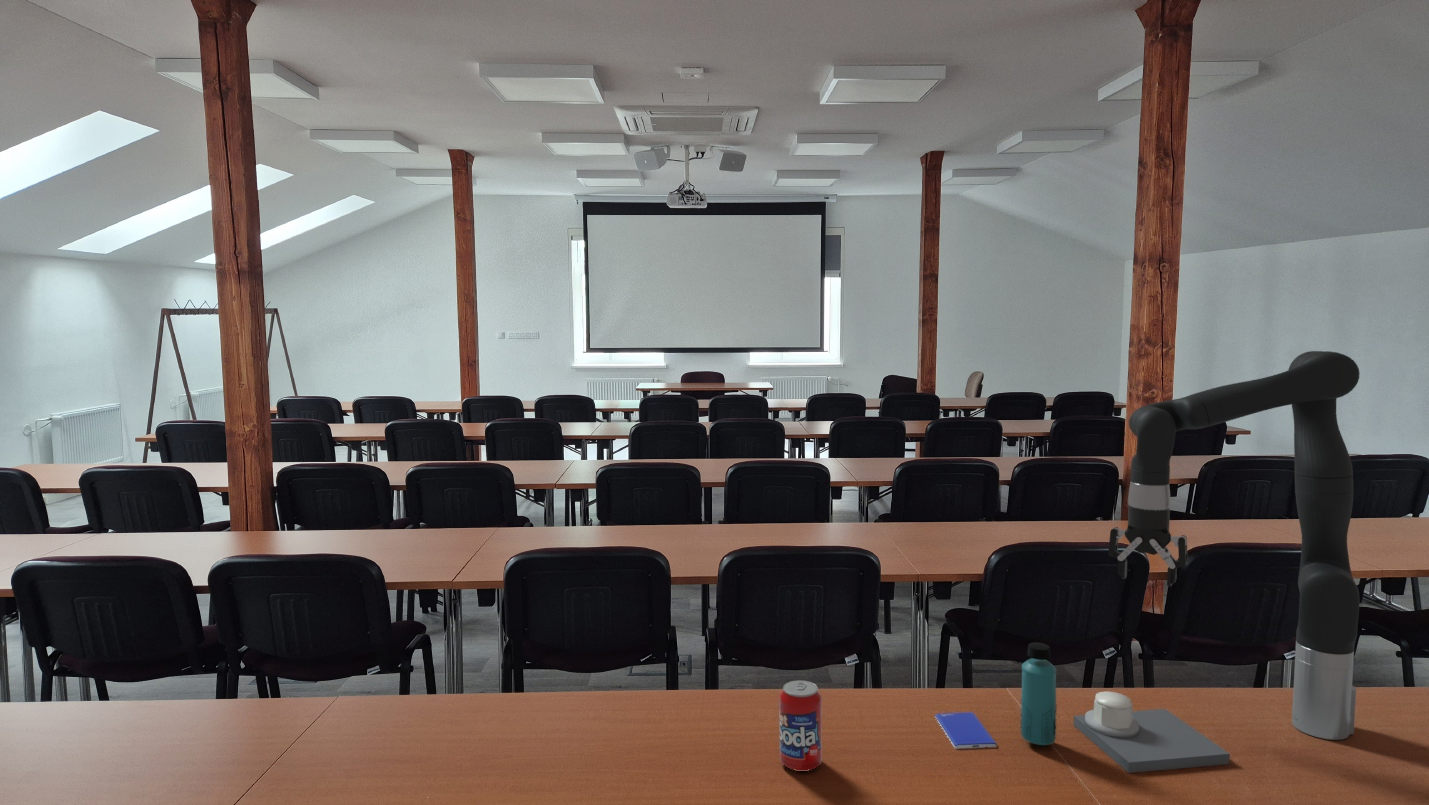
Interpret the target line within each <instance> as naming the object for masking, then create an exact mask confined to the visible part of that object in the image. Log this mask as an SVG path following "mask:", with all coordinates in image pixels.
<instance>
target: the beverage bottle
mask: <svg viewBox="0 0 1429 805" xmlns="http://www.w3.org/2000/svg"><path fill="white" fill-rule="evenodd" d="M1027 656H1028V657H1029V659H1026V661H1024V662H1023V663H1022V664H1021V693H1020V694H1021V695H1020V696H1021V697H1020V704H1021V705H1020V725H1019V726H1020V734H1021V736H1022V738H1023V739H1024V740H1025V741H1026V742H1028V743H1031V744H1032V745H1033V744H1034V745H1038V746H1047V745H1048V746H1049V745H1052V744H1053V743H1055V741H1056V739H1057V737H1056V736H1057V728H1058V727H1057V724H1058V723H1057V714H1058V713H1057V709H1058V707H1057V706H1058V705H1057V668H1056V667H1055V666H1054V665H1053V664H1052V663H1051V662H1050V661H1048V660H1050V659H1051V647H1050V646H1049V645H1048V644H1046V643H1043V642H1030V643H1029V644H1028V648H1027Z"/></svg>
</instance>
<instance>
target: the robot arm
mask: <svg viewBox="0 0 1429 805" xmlns="http://www.w3.org/2000/svg"><path fill="white" fill-rule="evenodd" d="M1359 380H1360V369H1359V366H1358V365H1357V363H1356V362H1355V361H1354V359H1352V358H1351V357H1350V356H1348V355H1346V354H1343V353H1340V352H1336V351H1327V350H1326V351H1323V350H1322V351H1321V350H1319V351H1318V350H1310V351H1306V352H1302V353H1301V354H1299V355H1297V356H1296V357H1295V358H1294V359H1293V360H1292V362H1291V363H1290V364H1289V367H1288V369H1287V370H1286V371H1283V372H1280V373H1277V374H1273V375H1269V376H1266V377H1261V378H1257V379H1250V380H1246V381H1240V382H1236V383H1235V382H1234V383H1230V384H1225V385H1221V386H1217V387H1213V388H1210V389H1205V390H1203V391H1199V392H1195V393H1192V394H1189V395H1186V396H1184V397H1181V398H1175V399H1169V400H1165V401H1159V402H1154V403H1149V404H1146V405H1143V406H1141V407H1138V408H1137V409H1135V410H1134V411H1133V412H1132V413H1131V415H1130V417H1129V419H1128V426H1129V429H1130V431H1131V433H1132V434H1133V435H1134V436H1136V437H1137V438H1136V439H1137V440H1136V450H1135V454H1134V455H1133V456H1132V459H1131V464H1130V484H1129V489H1128V497H1127V503H1128V507H1127V509H1128V511H1127V512H1128V513H1127V527H1126V529H1124V528H1123V529H1122V528H1119V527H1118V526H1114V527H1112V528H1111V529H1110V533H1109V544H1108V553H1107V554H1108V556H1109V557H1110V558H1114V559H1116V560H1117V575H1118V576H1119V577H1120V579H1123V580H1125V579H1127V577H1128V559H1127V557H1129V556H1130V554H1131V553H1132V552H1133V551H1134V550H1135V551H1136V552H1137V553H1140V554H1145V553H1146V554H1149V555H1154V556H1155V555H1159V556H1160V558H1161V559H1162V560H1163V561H1164V562H1165V564H1166V566H1168V567H1167V572H1166V573H1167V574H1166V576H1167V578H1166V585H1167V586H1166V587H1172V585H1174V584H1175V583H1176V581H1177V575H1178V574H1177V572H1178V570H1177V569H1178V568H1185V567H1186V565H1188V562H1189V561H1188V538H1187V536H1186V535H1184V534H1182V535H1179V536H1178V535H1172V534H1171V533H1170V515H1171V514H1170V513H1171V511H1170V510H1171V490H1170V480H1171V479H1170V477H1171V476H1170V474H1171V466H1170V465H1171V464H1170V463H1171V458H1172V455H1173V451H1174V450H1173V449H1174V447H1175V446H1174V445H1175V441H1176V432H1179V431H1183V430H1199V429H1204V428H1208V427H1212V426H1215V425H1219V424H1223V423H1226V422H1230V421H1233V420H1237V419H1240V418H1243V417H1246V416H1249V415H1254V414H1257V413H1260V412H1264V411H1268V410H1272V409H1276V408H1280V407H1285V406H1289V405H1291V409H1292V416H1293V427H1294V430H1293V431H1294V432H1293V447H1294V448H1293V449H1294V450H1293V452H1294V493H1295V503H1296V511H1297V516H1298V521H1299V526H1300V533H1301V551H1300V563H1299V570H1298V572H1299V573H1298V577H1297V578H1298V579H1297V586H1298V589H1299V606H1298V608H1299V609H1298V620H1297V621H1298V622H1297V628H1296V634H1295V636H1296V637H1295V655H1294V670H1293V672H1294V675H1293V677H1294V678H1293V693H1292V694H1293V696H1292V712H1291V714H1292V715H1291V724H1292V726H1293V727H1294V728H1295V729H1297V730H1299V731H1300V732H1303V733H1304V734H1307V735H1309V736H1313V737H1316V738H1319V739H1325V740H1332V741H1335V740H1337V741H1340V740H1345V739H1347V738H1349V737H1350V735H1355V717H1356V716H1355V715H1356V702H1357V701H1356V700H1357V687H1356V686H1354V685H1353V677H1354V657H1355V655H1354V654H1355V644H1356V640H1357V638H1358V627H1359V626H1358V625H1359V617H1360V616H1359V615H1360V591H1359V588H1358V586H1357V584H1356V582H1355V580H1354V578H1353V573H1352V570H1351V565H1350V564H1351V563H1350V558H1349V548H1348V533H1349V528H1350V523H1351V518H1352V513H1353V507H1354V506H1353V505H1354V470H1353V464H1352V460H1351V457H1350V454H1349V452H1348V449H1347V448H1348V447H1347V446H1346V442H1345V441H1344V439H1343V436H1342V433H1341V431H1340V427H1339V425H1338V424H1339V423H1338V418H1337V417H1338V416H1337V399H1339V398H1342V397H1345V396H1346V395H1348V394H1349V393H1351V392H1353V390H1354V388H1356V386H1357V385H1358V383H1359ZM1123 536H1124V537H1125V538H1126V540H1127V541H1128V542H1129V544H1128V546H1127V547H1126V548H1125V549H1124V550H1123V551H1118V546H1119V540H1121V539H1122V538H1123ZM1171 542H1172V543H1173V545H1174V546H1175V547H1176V548H1177V549H1178V552H1177V553H1178V559H1175V557H1174V556H1173V554H1172V553H1171V550H1170V549H1169V548H1168V547H1167V546H1168V545H1169V544H1170V543H1171Z"/></svg>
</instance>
